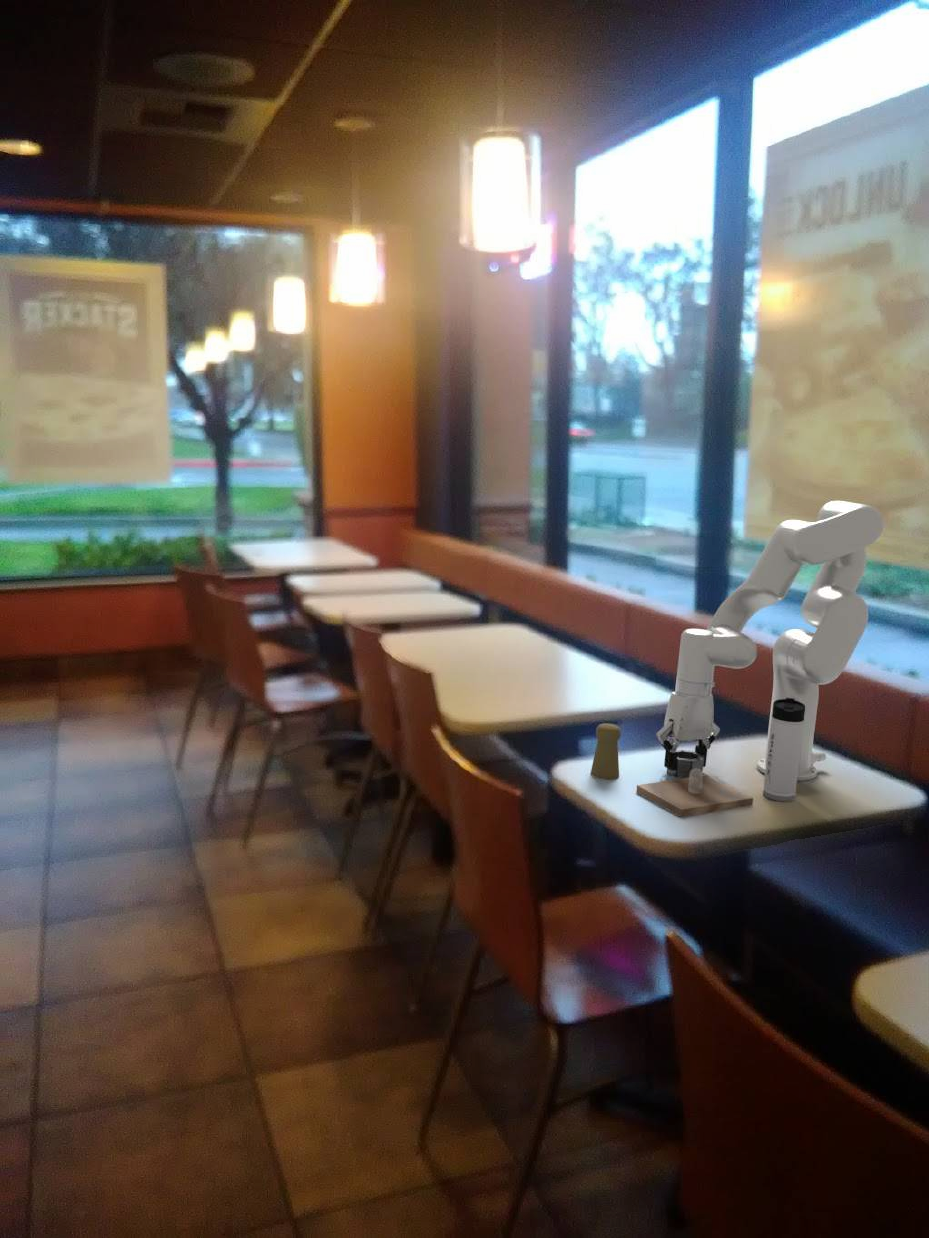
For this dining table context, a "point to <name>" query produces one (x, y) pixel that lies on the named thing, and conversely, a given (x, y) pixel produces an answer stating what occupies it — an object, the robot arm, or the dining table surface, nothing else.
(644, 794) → the board
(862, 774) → the dining table surface
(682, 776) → the steel ring
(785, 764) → the travel mug
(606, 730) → the cork
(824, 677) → the robot arm
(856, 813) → the dining table surface
